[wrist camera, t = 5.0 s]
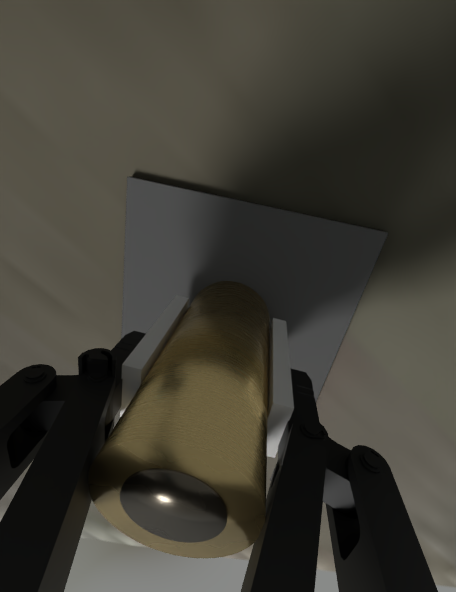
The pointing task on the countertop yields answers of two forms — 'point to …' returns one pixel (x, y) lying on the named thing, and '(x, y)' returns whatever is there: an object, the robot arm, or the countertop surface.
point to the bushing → (195, 434)
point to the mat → (246, 264)
